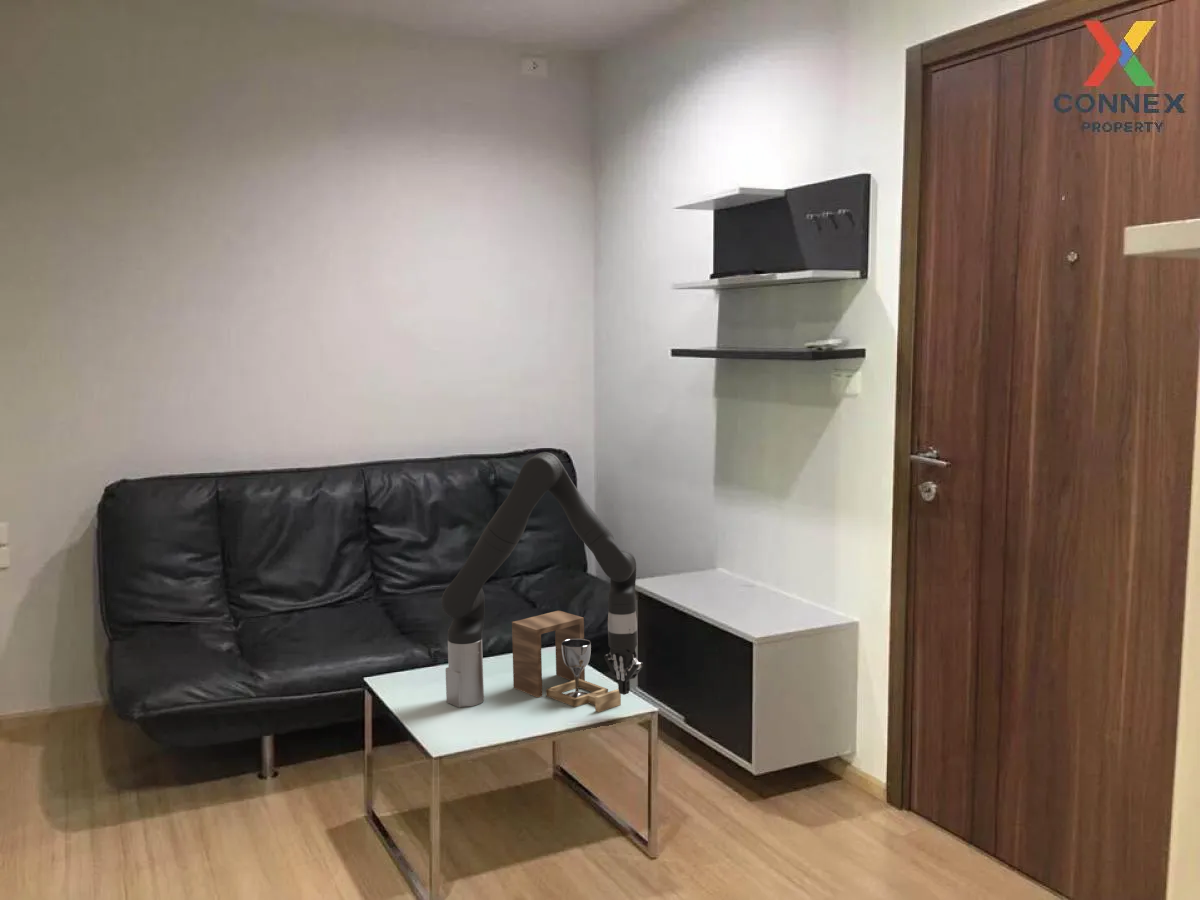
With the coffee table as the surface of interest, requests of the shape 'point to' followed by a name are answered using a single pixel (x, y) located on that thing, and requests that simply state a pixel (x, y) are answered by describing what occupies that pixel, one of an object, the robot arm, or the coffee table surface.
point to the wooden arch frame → (529, 648)
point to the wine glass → (576, 659)
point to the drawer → (597, 697)
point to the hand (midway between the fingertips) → (624, 693)
